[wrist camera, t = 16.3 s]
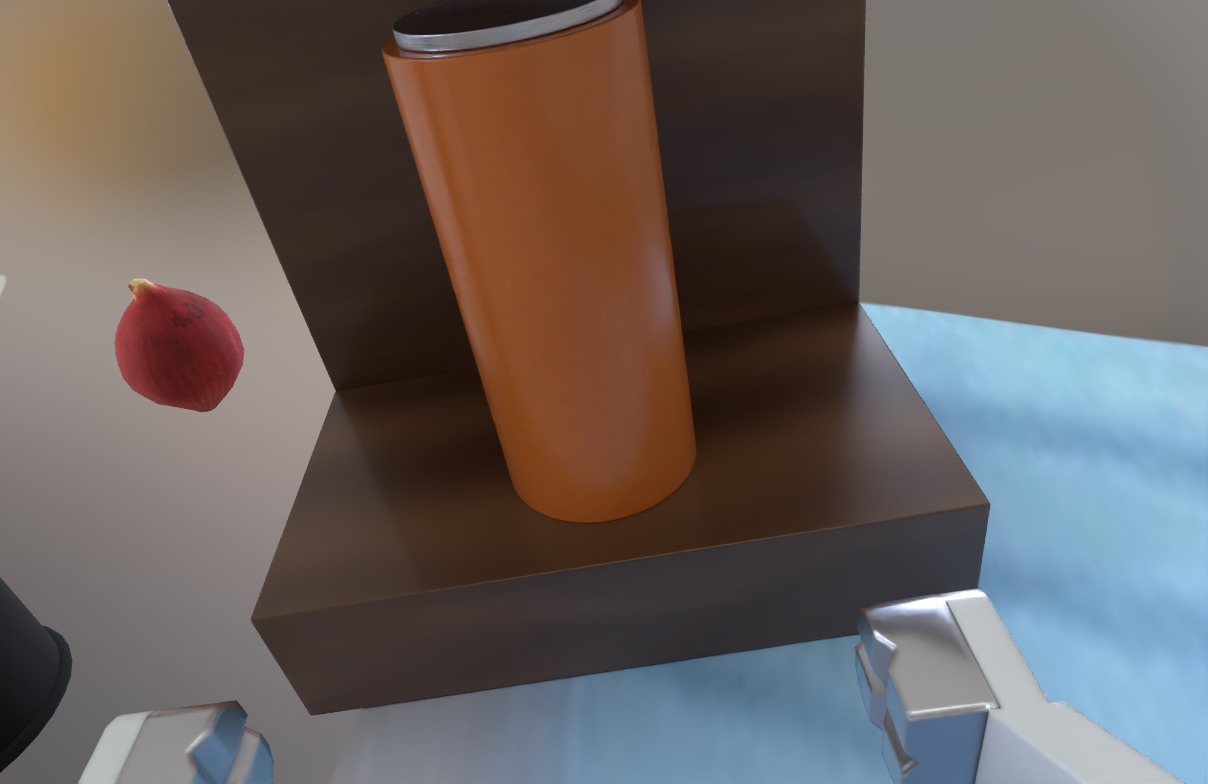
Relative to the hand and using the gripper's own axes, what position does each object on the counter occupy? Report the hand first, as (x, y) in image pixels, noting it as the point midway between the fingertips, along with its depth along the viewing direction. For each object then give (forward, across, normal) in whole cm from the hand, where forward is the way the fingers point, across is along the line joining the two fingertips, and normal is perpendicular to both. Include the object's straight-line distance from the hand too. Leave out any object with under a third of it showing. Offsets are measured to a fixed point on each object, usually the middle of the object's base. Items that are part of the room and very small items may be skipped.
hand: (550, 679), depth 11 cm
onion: (+30, +21, +14) cm, 40 cm away
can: (+15, 0, +9) cm, 17 cm away
